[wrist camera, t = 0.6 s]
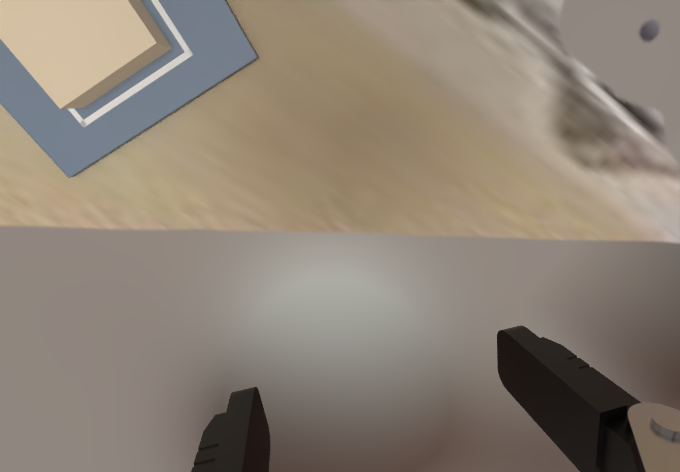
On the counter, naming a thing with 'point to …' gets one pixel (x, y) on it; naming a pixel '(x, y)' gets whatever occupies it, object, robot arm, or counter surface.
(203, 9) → the board
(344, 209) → the counter surface
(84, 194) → the counter surface
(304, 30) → the counter surface
